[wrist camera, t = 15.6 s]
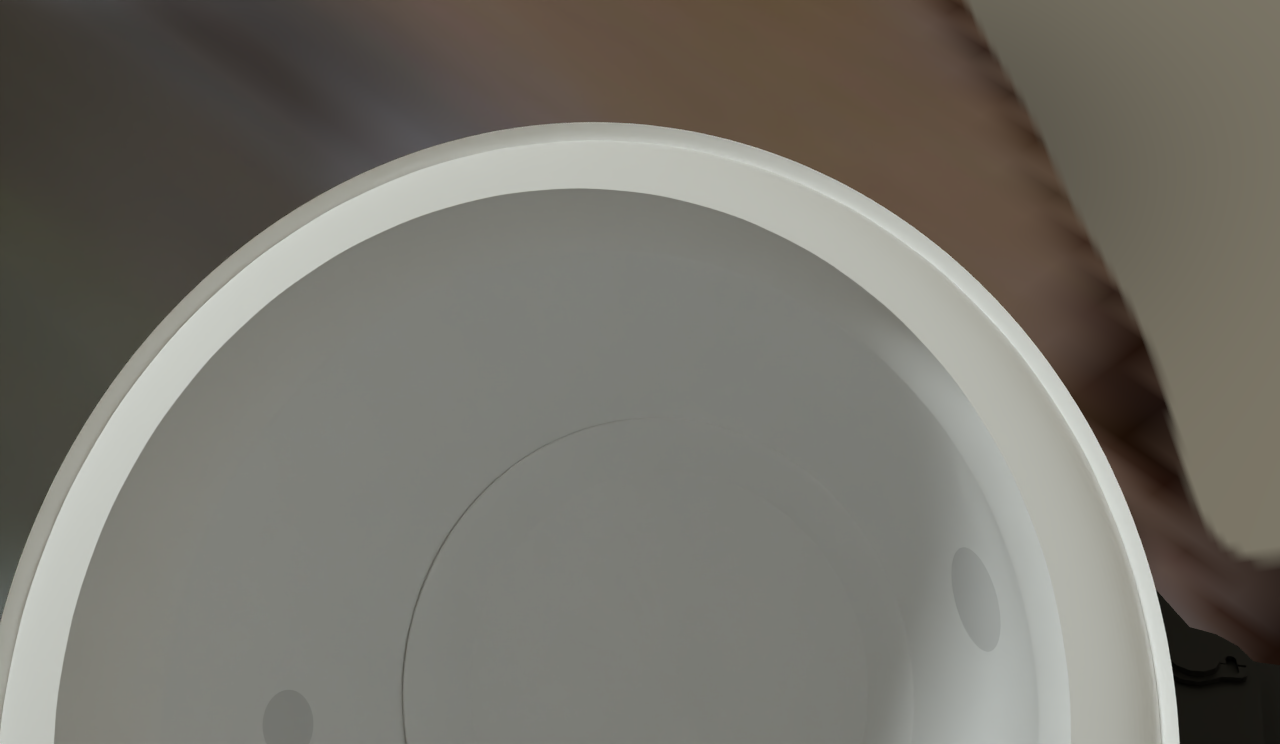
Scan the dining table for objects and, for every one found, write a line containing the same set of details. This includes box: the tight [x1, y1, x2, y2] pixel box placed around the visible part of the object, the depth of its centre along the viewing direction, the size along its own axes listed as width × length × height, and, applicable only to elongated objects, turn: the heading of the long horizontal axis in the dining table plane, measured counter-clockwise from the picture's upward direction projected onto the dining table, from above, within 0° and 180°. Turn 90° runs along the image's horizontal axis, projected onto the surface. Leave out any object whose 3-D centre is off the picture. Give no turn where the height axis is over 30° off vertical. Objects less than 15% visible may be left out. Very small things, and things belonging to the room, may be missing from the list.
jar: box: [0, 122, 1180, 744], centre depth 14 cm, size 11×10×15 cm
